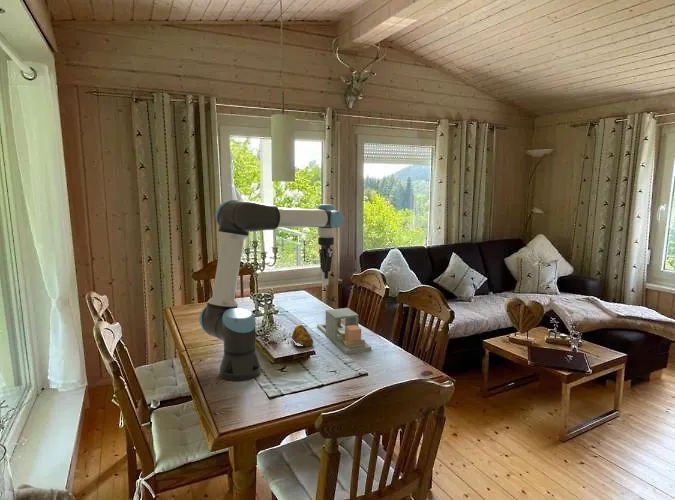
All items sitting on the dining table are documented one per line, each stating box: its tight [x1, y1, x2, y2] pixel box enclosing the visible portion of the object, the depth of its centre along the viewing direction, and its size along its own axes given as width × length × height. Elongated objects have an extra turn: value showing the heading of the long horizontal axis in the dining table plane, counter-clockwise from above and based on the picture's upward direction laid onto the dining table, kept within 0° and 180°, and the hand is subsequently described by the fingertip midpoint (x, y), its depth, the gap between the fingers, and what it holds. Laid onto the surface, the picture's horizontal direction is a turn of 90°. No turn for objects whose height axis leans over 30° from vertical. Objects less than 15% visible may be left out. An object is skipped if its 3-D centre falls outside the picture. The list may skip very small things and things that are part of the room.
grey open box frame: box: [338, 319, 365, 348], centre depth 194 cm, size 26×8×5 cm, turn 22°
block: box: [344, 325, 362, 342], centre depth 185 cm, size 6×5×6 cm
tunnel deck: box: [316, 307, 372, 355], centre depth 196 cm, size 36×12×12 cm, turn 22°
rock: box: [291, 324, 314, 348], centre depth 189 cm, size 11×8×10 cm
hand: (325, 284), depth 207 cm, fingers closed
